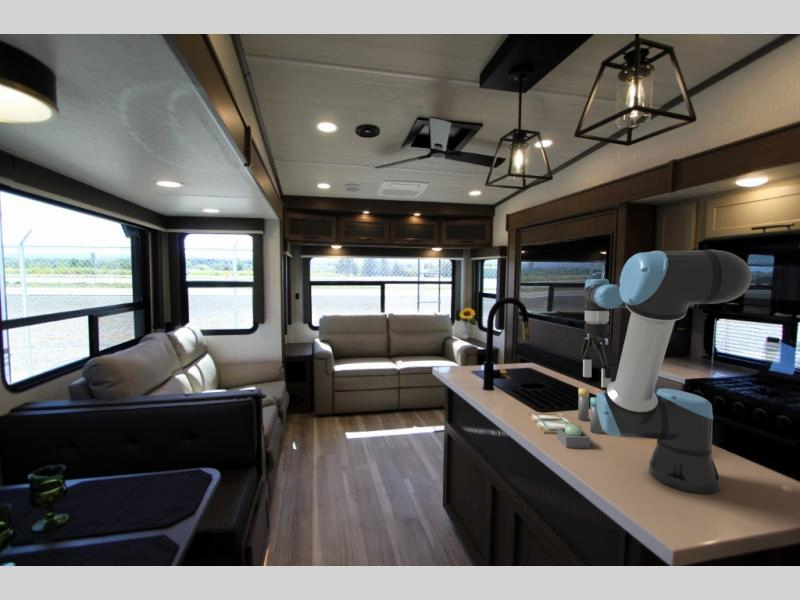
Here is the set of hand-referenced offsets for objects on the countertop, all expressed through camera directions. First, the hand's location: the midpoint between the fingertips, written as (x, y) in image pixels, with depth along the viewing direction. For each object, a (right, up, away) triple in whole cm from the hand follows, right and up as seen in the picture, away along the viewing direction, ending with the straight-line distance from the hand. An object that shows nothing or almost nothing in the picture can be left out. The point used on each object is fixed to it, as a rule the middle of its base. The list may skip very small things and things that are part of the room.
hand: (596, 381), depth 128 cm
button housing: (-12, -19, -8) cm, 24 cm away
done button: (-12, -17, -8) cm, 22 cm away
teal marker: (0, -18, 0) cm, 18 cm away
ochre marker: (+2, -18, +12) cm, 22 cm away
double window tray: (-12, -18, +8) cm, 23 cm away
